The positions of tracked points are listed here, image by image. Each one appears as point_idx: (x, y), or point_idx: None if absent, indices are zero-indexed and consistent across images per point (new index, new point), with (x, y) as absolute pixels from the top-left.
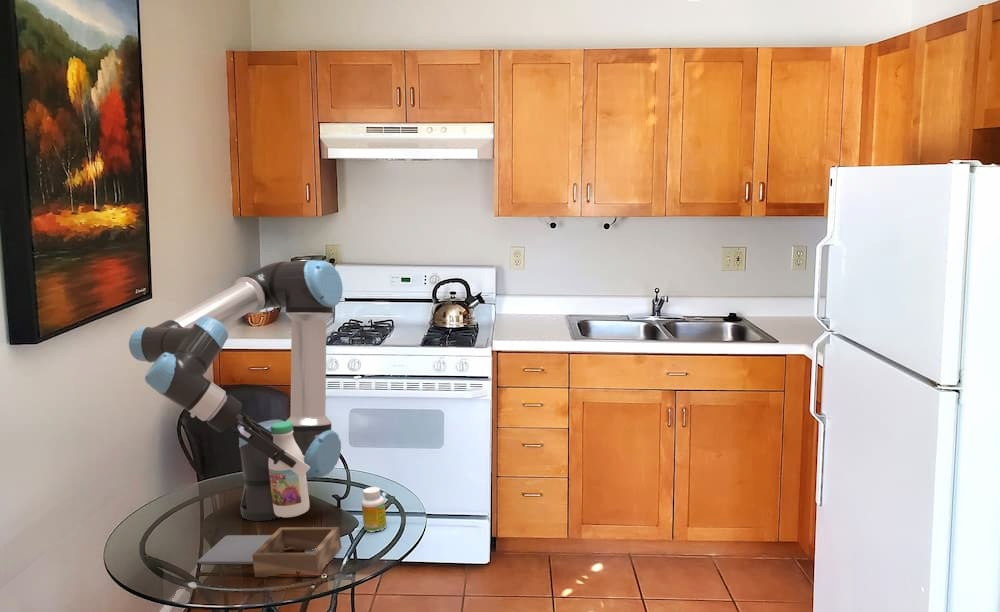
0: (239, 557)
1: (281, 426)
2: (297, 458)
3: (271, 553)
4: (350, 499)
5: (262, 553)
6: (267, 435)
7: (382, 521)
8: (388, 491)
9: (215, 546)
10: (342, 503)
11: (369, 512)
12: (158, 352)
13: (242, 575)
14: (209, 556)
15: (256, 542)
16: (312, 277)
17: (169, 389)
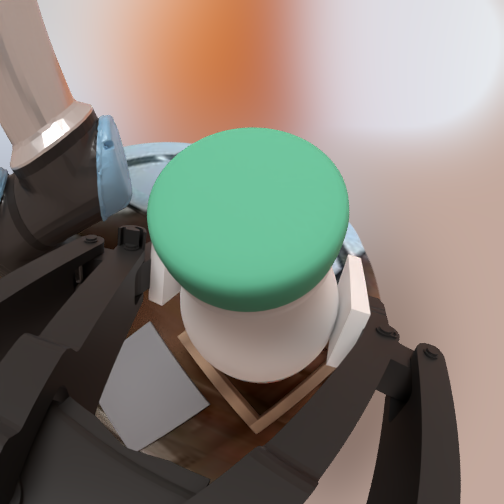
0: (172, 411)
1: (334, 222)
2: (354, 277)
3: (280, 406)
4: (134, 190)
5: (265, 418)
6: (119, 301)
7: None
8: (161, 152)
9: (104, 406)
10: (134, 202)
11: None
12: None
13: (233, 437)
14: (129, 434)
15: (141, 361)
16: None
17: None
